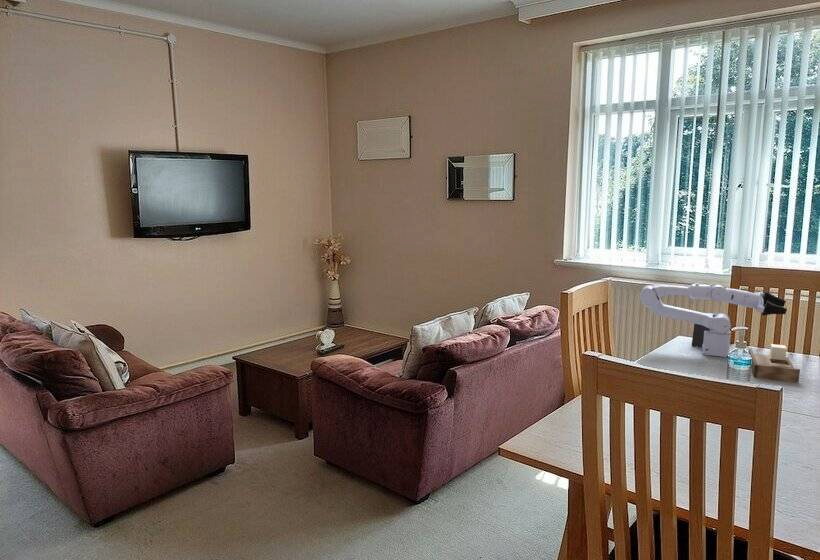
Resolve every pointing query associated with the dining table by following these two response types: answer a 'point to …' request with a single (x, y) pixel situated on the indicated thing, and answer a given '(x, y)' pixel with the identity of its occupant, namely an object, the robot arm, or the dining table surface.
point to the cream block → (778, 352)
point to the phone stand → (698, 334)
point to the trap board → (773, 368)
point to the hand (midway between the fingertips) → (785, 307)
